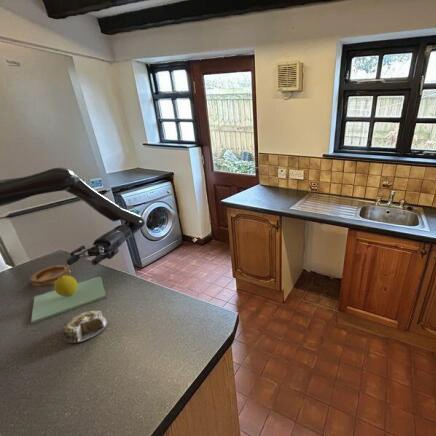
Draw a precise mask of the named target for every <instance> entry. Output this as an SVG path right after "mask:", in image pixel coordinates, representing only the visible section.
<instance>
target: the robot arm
mask: <svg viewBox="0 0 436 436" xmlns="http://www.w3.org/2000/svg"><path fill="white" fill-rule="evenodd" d="M63 191H64V192H67V193H69V194H71V195H73V196H75V197H77V198H78V199H80V200H81V201H83V202H84V203H85V204H86V205H88V206H89V207H90V208H92V209H93V210H94V211H96V212H97V213H98V214H100V215H101V216H103V217H104V218H106V219H107V220H109V221H111V222H113V223H114V222H118V221H121V220H122V221H123V222H122V223H121V224H119V225H116V226H115V227H113V228H112V229H111V230H109V231H106V232H105V233H103V234H102V235H101V236H99V237H98V238H96V239H95V240H94V241H93V242H92V243H93V244H92V245H90V246H88V247H86V246H85V245H81V246H79V247H78V248H76V249H74V250H73V251H71V252H70V253H69V255H70V257H69V258H68V259H67V260H66V263H67V266H72V265H73V264H75V263H76V262H78V261H79V260H82V259H88V258H92V257H93V258H92V259H91V264H92V266H96V265H98V264H99V263H101V262H102V261H105V260H107V259H108V260H111V259H113V258H114V257H115V256H116V255H117V254H118V253H119V252H120V251H119V248H120V247H121V246H122V245H123V244H124V243H125V242H126V241H127V240H129V239H130V238H131V237H132V236H133V235H135V234H137V232H138V231H139V230H141V229H143V228H144V226H145V225H146V221H145V220H144V218H143V217H142V216H141V215H139V214H137V213H134V212H132V211H129V210H128V209H125V208H122V207H121V206H119V205H118V204H116V203H115V202H113V201H111V200H110V199H109V198H107V197H105V196H104V195H102V194H101V193H100V192H97V191H96V190H95V189H93V188H92V187H90V185H88V184H87V183H85V182H84V181H83V180H82V179H81V178H80V177H79V176H78V175H76V173H75V172H74V171H72V170H71V169H69V168H67V167H53V168H49V169H47V170H44V171H40V172H38V173H34V174H29V175H26V176H22V177H13V178H4V179H0V207H4V206H7V205H11V204H13V203H17V202H20V201H23V200H26V199H28V198H31V197H34V196H38V195H44V194H50V193H56V192H63Z"/></svg>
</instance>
